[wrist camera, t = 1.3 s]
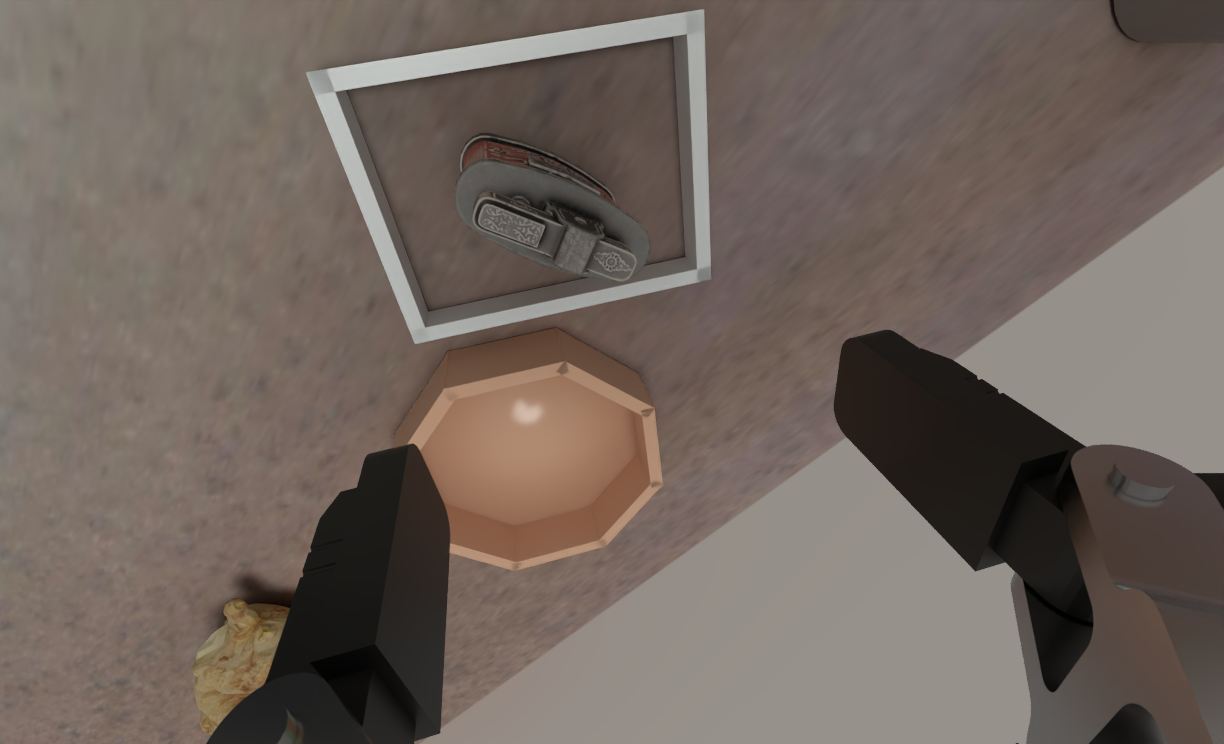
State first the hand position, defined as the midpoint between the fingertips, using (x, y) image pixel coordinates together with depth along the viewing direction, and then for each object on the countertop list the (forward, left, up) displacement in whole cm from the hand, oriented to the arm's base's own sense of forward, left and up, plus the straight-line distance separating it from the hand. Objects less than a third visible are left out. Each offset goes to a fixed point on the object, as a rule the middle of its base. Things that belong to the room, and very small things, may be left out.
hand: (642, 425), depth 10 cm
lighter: (0, 0, -21) cm, 21 cm away
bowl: (+4, +16, -20) cm, 26 cm away
